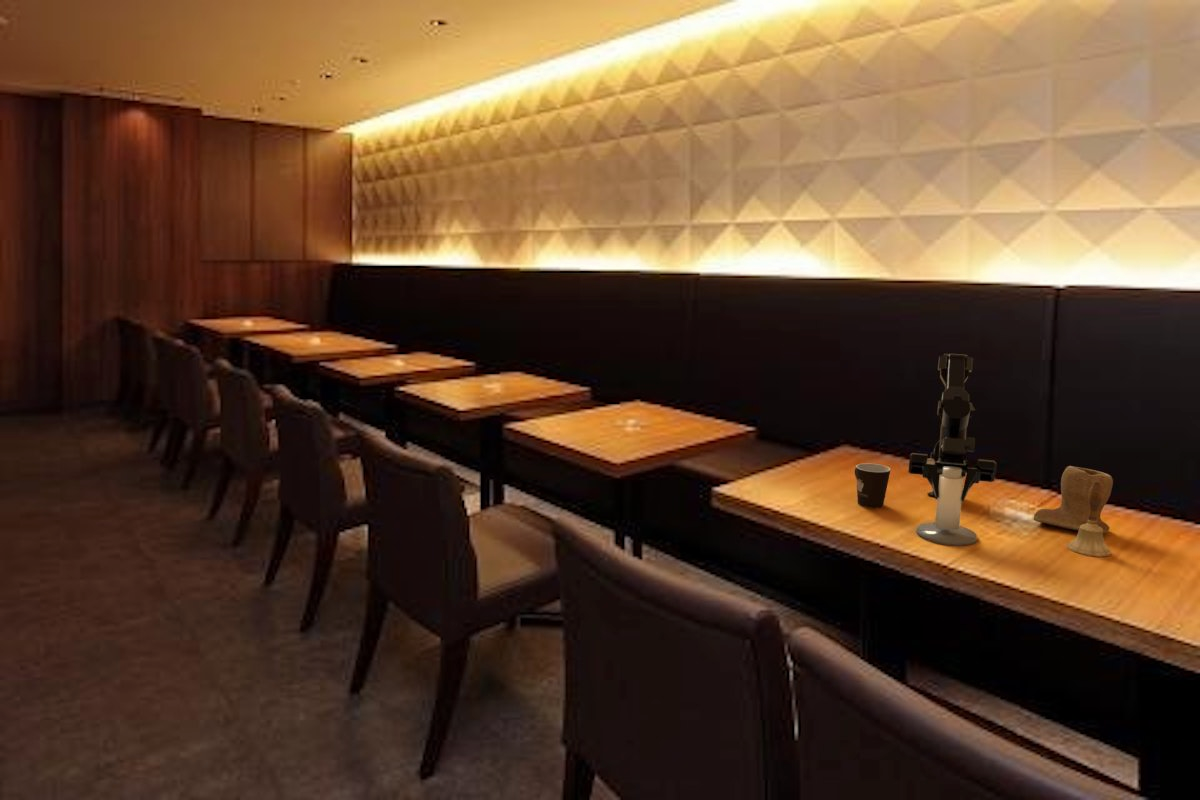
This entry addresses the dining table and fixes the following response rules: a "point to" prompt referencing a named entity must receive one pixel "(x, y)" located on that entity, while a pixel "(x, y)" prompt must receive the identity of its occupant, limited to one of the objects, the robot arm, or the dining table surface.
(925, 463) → the robot arm
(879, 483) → the coffee mug
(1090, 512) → the hand bell
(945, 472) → the capped bottle
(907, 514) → the dining table surface
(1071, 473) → the brown boot
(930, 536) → the slate plate
